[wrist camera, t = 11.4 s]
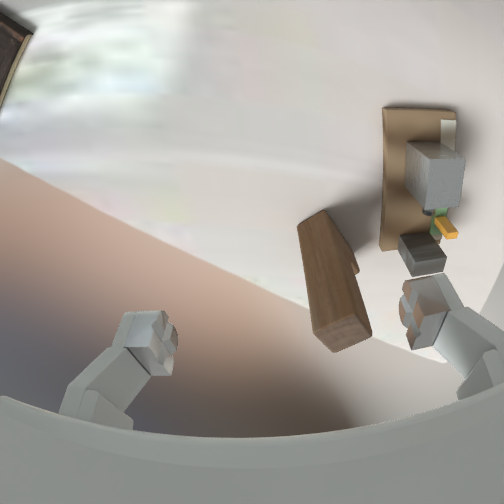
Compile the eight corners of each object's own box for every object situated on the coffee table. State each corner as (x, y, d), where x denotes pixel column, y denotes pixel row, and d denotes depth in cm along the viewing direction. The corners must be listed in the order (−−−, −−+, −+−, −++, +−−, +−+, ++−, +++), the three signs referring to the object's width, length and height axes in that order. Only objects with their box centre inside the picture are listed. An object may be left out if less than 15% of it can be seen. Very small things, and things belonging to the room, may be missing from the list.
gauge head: (406, 141, 30) (429, 159, 25) (454, 141, 29) (481, 159, 24) (403, 203, 35) (421, 227, 30) (448, 199, 34) (470, 222, 29)
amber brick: (435, 217, 36) (447, 233, 32) (445, 216, 35) (458, 231, 32) (434, 223, 36) (446, 239, 33) (444, 222, 36) (456, 238, 33)
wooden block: (353, 252, 42) (387, 355, 28) (327, 266, 44) (350, 371, 29) (323, 207, 38) (357, 313, 24) (295, 225, 40) (311, 334, 25)
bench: (382, 107, 29) (409, 122, 23) (449, 110, 28) (484, 126, 22) (378, 245, 41) (395, 279, 35) (435, 238, 40) (457, 268, 34)
